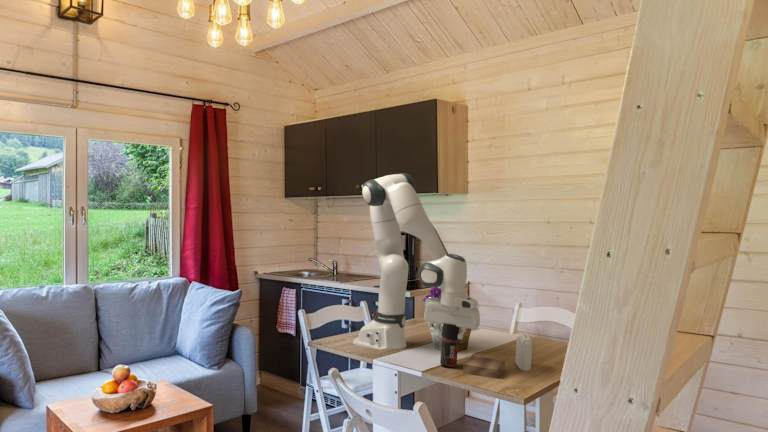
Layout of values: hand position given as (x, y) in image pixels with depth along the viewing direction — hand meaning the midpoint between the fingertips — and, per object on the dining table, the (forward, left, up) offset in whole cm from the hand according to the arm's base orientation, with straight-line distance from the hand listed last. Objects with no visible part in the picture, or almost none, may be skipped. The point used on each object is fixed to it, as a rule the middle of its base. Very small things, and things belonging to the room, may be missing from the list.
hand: (450, 337), depth 211 cm
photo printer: (+24, +14, -11) cm, 30 cm away
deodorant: (0, 0, -10) cm, 10 cm away
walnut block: (+13, 0, -11) cm, 17 cm away
